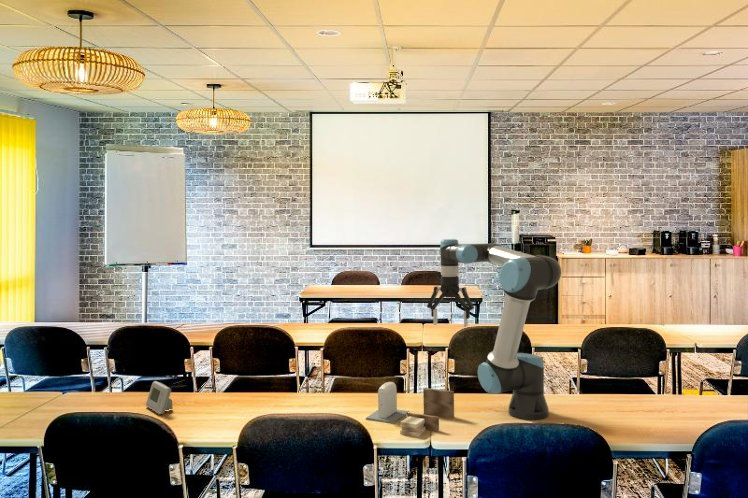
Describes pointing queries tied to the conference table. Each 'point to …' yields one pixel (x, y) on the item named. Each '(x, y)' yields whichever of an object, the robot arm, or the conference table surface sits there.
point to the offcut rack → (436, 407)
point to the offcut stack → (412, 426)
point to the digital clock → (159, 398)
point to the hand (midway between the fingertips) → (450, 325)
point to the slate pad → (390, 419)
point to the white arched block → (387, 400)
